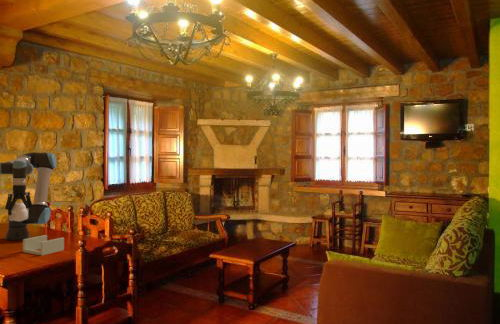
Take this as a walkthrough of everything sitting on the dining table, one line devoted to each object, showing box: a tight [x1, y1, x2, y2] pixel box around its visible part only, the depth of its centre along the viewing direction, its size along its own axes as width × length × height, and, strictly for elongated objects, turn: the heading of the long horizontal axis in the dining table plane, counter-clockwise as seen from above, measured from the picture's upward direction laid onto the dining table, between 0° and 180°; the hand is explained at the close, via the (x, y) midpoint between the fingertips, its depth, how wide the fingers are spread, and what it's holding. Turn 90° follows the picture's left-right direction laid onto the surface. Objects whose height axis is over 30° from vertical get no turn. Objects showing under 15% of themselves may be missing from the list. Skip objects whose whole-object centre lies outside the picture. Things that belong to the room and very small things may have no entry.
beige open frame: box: [22, 234, 65, 256], centre depth 260 cm, size 17×16×8 cm
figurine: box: [10, 201, 28, 221], centre depth 263 cm, size 10×10×12 cm
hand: (18, 219), depth 262 cm, fingers closed on figurine, 10 cm apart
